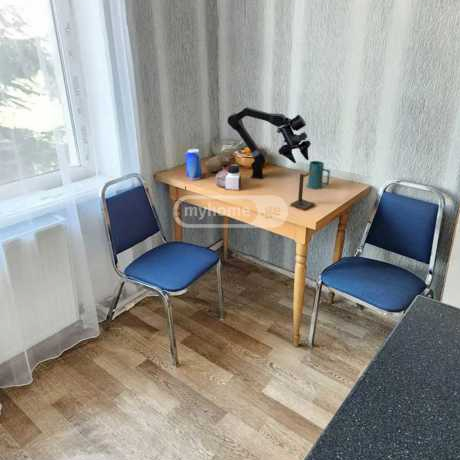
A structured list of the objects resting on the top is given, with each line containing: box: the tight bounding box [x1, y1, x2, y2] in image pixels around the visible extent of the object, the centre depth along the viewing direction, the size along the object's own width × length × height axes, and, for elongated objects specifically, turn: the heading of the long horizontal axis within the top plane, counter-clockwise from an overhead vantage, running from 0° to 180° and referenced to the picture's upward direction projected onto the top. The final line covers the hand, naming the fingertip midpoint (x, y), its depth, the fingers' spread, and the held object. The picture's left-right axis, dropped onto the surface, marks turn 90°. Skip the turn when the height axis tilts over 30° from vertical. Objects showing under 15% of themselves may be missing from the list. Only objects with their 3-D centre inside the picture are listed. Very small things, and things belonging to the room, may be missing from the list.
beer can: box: [185, 148, 203, 181], centre depth 219 cm, size 8×8×16 cm
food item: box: [215, 166, 228, 189], centre depth 211 cm, size 14×8×10 cm, turn 156°
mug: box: [307, 160, 331, 190], centre depth 206 cm, size 12×7×13 cm, turn 45°
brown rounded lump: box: [204, 154, 230, 173], centre depth 236 cm, size 13×8×20 cm
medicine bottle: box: [225, 164, 242, 191], centre depth 206 cm, size 7×7×12 cm
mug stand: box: [290, 170, 316, 212], centre depth 186 cm, size 8×16×14 cm, turn 135°
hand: (301, 161), depth 205 cm, fingers open, 9 cm apart
